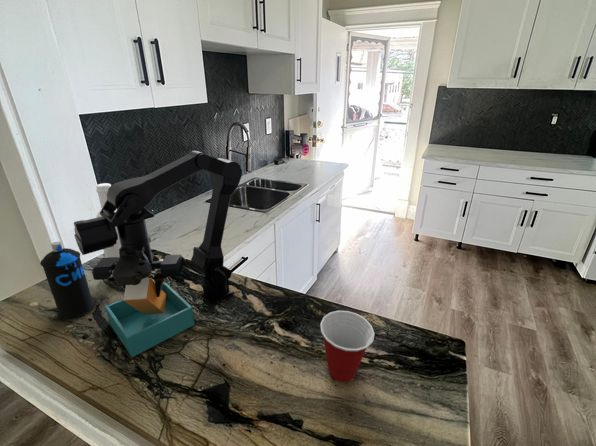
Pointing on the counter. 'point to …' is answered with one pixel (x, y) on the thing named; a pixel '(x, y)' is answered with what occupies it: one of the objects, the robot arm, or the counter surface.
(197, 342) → the counter surface
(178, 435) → the counter surface
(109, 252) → the bottle
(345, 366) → the plastic cup
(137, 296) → the drink carton
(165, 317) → the bin
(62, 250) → the aerosol can
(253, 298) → the counter surface
